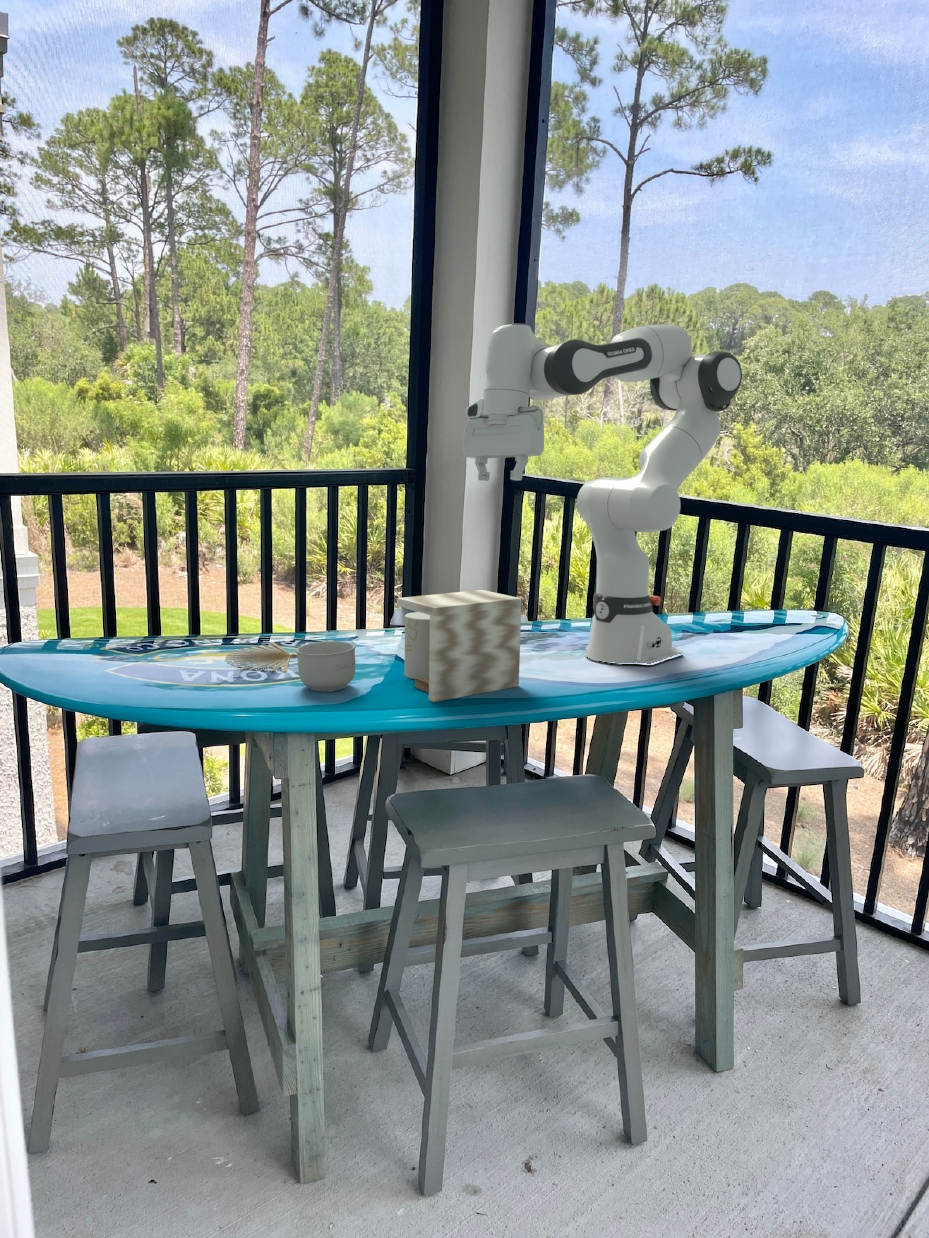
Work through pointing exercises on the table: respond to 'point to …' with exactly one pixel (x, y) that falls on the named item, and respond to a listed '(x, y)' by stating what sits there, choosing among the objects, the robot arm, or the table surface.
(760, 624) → the table surface
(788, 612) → the table surface
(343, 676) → the teacup
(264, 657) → the hand fan
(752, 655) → the table surface
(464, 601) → the marbled side table
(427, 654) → the cup
